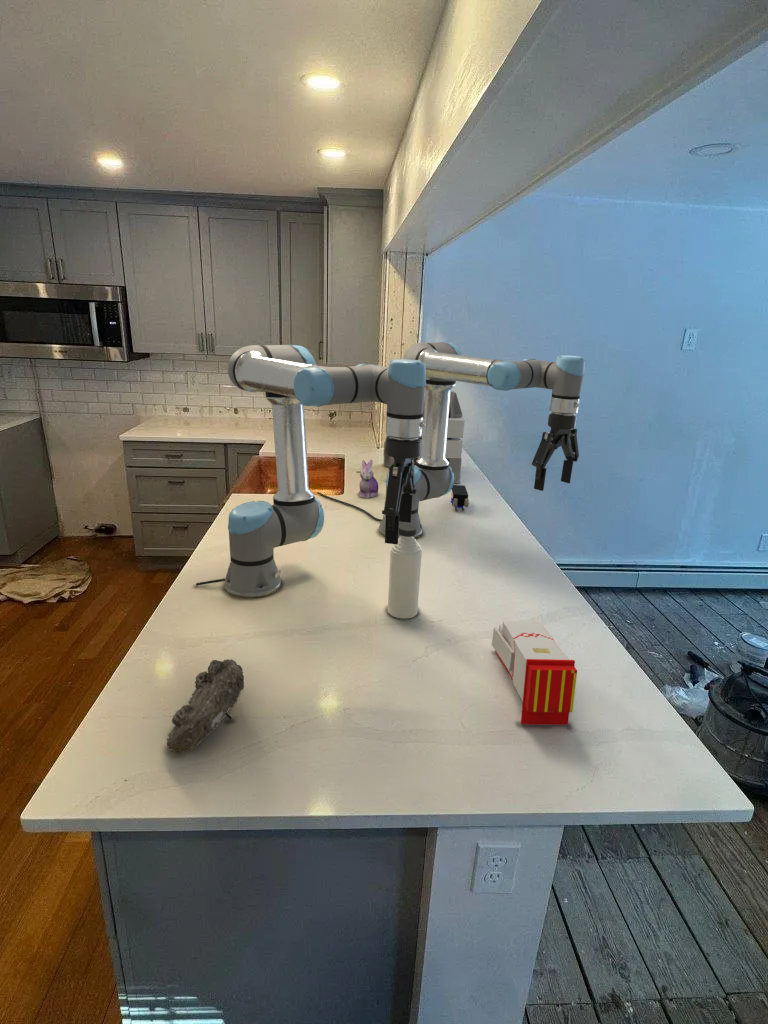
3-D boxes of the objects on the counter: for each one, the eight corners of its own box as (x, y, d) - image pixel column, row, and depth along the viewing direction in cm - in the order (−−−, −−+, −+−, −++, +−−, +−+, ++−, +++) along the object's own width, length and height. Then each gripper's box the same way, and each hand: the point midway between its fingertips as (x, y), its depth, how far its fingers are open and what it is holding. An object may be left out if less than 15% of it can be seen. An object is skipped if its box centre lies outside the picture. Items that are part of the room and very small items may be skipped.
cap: (417, 531, 143) (417, 525, 143) (414, 537, 139) (414, 531, 139) (400, 529, 144) (400, 523, 144) (396, 535, 140) (397, 529, 140)
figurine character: (468, 516, 224) (463, 500, 237) (471, 498, 221) (465, 483, 234) (452, 515, 224) (447, 499, 237) (453, 498, 220) (449, 482, 234)
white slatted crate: (382, 463, 289) (386, 382, 275) (445, 464, 293) (451, 384, 279) (390, 482, 257) (394, 392, 243) (460, 483, 261) (468, 394, 247)
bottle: (419, 606, 152) (425, 525, 144) (414, 620, 145) (420, 536, 137) (391, 601, 154) (395, 521, 146) (384, 615, 146) (388, 532, 138)
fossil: (192, 660, 117) (244, 628, 112) (224, 691, 120) (276, 661, 115) (142, 746, 98) (202, 712, 93) (182, 779, 101) (242, 748, 96)
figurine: (363, 499, 233) (364, 464, 228) (353, 492, 242) (354, 458, 236) (383, 497, 237) (385, 462, 232) (373, 490, 246) (374, 456, 241)
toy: (538, 606, 134) (586, 666, 105) (533, 659, 137) (578, 731, 108) (487, 605, 134) (521, 665, 105) (483, 658, 137) (515, 730, 107)
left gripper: (409, 451, 105) (403, 556, 112) (431, 427, 128) (425, 515, 135) (370, 447, 107) (366, 551, 114) (399, 424, 130) (394, 511, 137)
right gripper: (548, 419, 148) (537, 496, 155) (598, 411, 163) (586, 482, 171) (525, 414, 153) (515, 489, 160) (575, 407, 169) (564, 476, 176)
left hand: (398, 532), depth 125 cm, fingers open, 13 cm apart
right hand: (552, 485), depth 166 cm, fingers open, 13 cm apart
